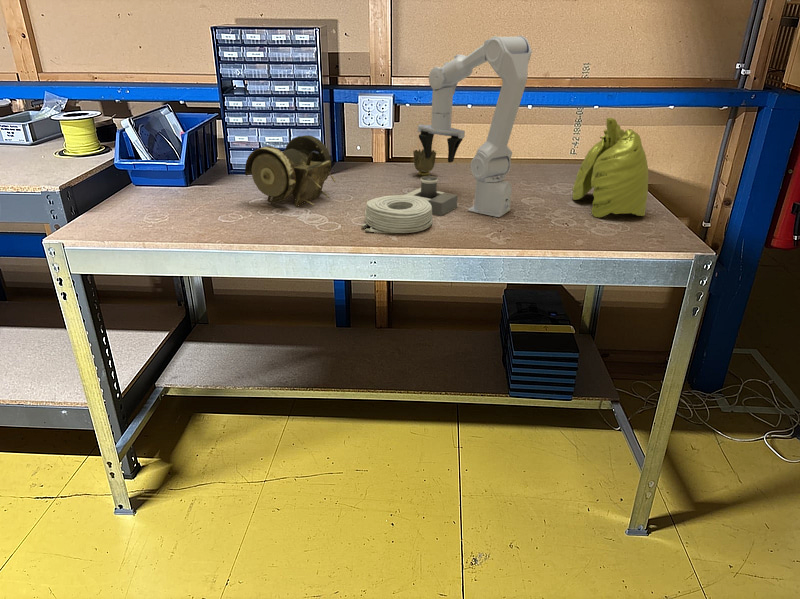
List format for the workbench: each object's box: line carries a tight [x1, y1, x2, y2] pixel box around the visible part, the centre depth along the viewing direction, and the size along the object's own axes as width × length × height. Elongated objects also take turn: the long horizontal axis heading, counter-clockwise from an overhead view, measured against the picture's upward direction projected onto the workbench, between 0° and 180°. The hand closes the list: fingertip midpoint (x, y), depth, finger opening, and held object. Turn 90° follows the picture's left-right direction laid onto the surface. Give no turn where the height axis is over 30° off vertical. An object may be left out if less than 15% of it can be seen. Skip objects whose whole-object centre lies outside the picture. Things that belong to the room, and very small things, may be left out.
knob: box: [420, 175, 439, 199], centre depth 161 cm, size 5×5×7 cm
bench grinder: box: [244, 135, 336, 207], centre depth 162 cm, size 20×22×20 cm
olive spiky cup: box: [412, 148, 437, 178], centre depth 189 cm, size 8×7×8 cm
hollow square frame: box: [403, 187, 459, 217], centre depth 162 cm, size 12×9×4 cm
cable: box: [361, 194, 433, 234], centre depth 149 cm, size 18×18×6 cm
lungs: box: [572, 117, 649, 219], centre depth 161 cm, size 25×16×24 cm, turn 5°
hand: (439, 159), depth 172 cm, fingers open, 7 cm apart
